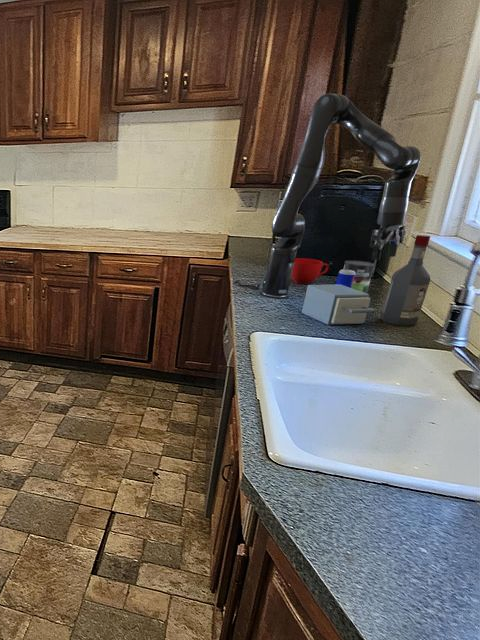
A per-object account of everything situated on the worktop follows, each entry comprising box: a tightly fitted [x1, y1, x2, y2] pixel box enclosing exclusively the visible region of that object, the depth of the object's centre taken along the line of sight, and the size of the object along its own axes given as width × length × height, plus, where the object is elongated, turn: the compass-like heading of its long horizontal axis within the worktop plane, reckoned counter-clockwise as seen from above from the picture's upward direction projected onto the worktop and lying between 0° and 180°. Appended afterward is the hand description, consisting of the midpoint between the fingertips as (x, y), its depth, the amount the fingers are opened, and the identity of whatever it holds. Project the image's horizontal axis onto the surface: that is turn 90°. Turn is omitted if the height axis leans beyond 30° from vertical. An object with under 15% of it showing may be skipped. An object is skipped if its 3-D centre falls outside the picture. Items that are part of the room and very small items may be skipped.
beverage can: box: [335, 268, 355, 288], centre depth 197 cm, size 5×5×15 cm
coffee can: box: [343, 260, 376, 294], centre depth 216 cm, size 10×10×14 cm
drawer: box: [331, 296, 376, 325], centre depth 184 cm, size 18×11×9 cm, turn 5°
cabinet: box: [301, 283, 370, 326], centre depth 188 cm, size 15×13×11 cm
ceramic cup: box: [291, 257, 330, 285], centre depth 239 cm, size 13×17×10 cm
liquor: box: [380, 234, 431, 327], centre depth 181 cm, size 9×9×30 cm
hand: (383, 258), depth 183 cm, fingers open, 8 cm apart
